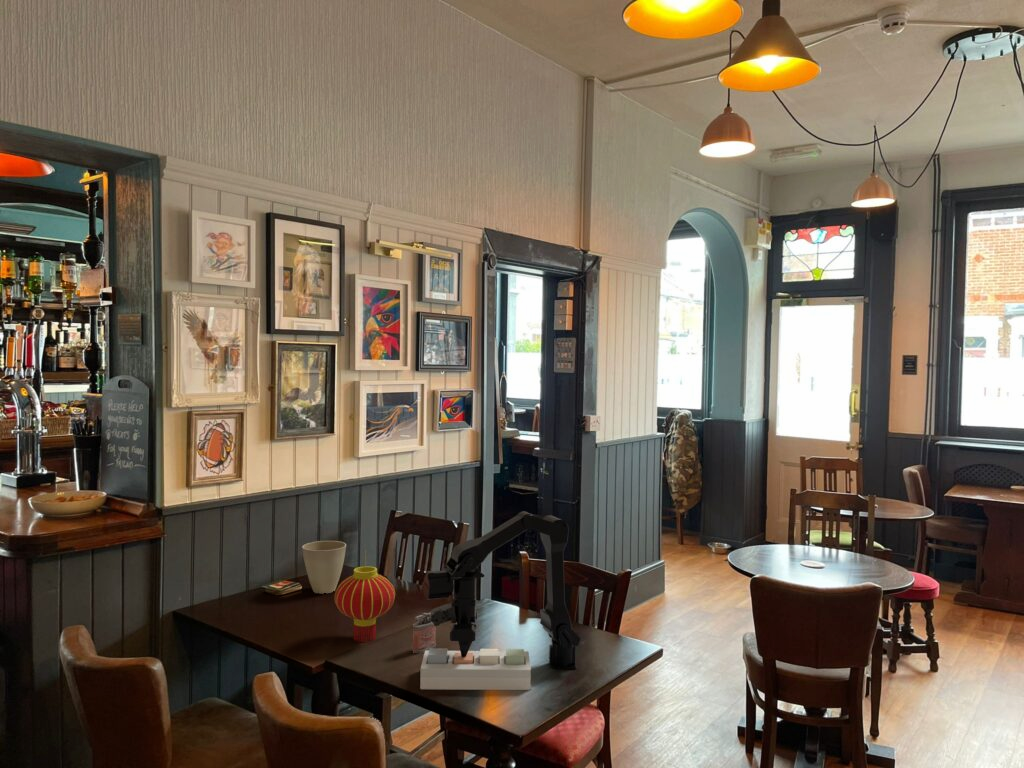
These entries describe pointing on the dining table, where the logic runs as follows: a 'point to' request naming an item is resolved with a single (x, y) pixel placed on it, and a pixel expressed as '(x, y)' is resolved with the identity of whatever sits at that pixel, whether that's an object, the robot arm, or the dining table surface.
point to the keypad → (475, 674)
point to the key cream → (488, 656)
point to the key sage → (514, 656)
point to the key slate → (437, 656)
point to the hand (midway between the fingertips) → (463, 656)
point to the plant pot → (324, 564)
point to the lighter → (423, 633)
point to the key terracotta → (463, 658)
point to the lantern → (364, 599)
